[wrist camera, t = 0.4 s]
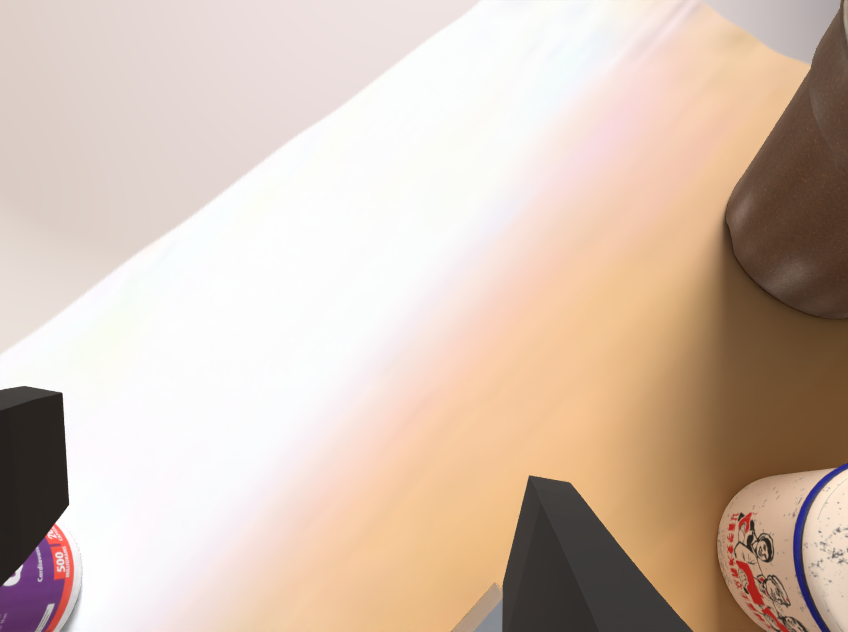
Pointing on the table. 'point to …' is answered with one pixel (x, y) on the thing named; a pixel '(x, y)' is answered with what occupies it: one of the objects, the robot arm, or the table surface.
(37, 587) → the pill bottle
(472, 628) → the grey block
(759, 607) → the teacup with lid
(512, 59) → the table surface
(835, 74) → the plant pot
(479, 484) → the table surface
